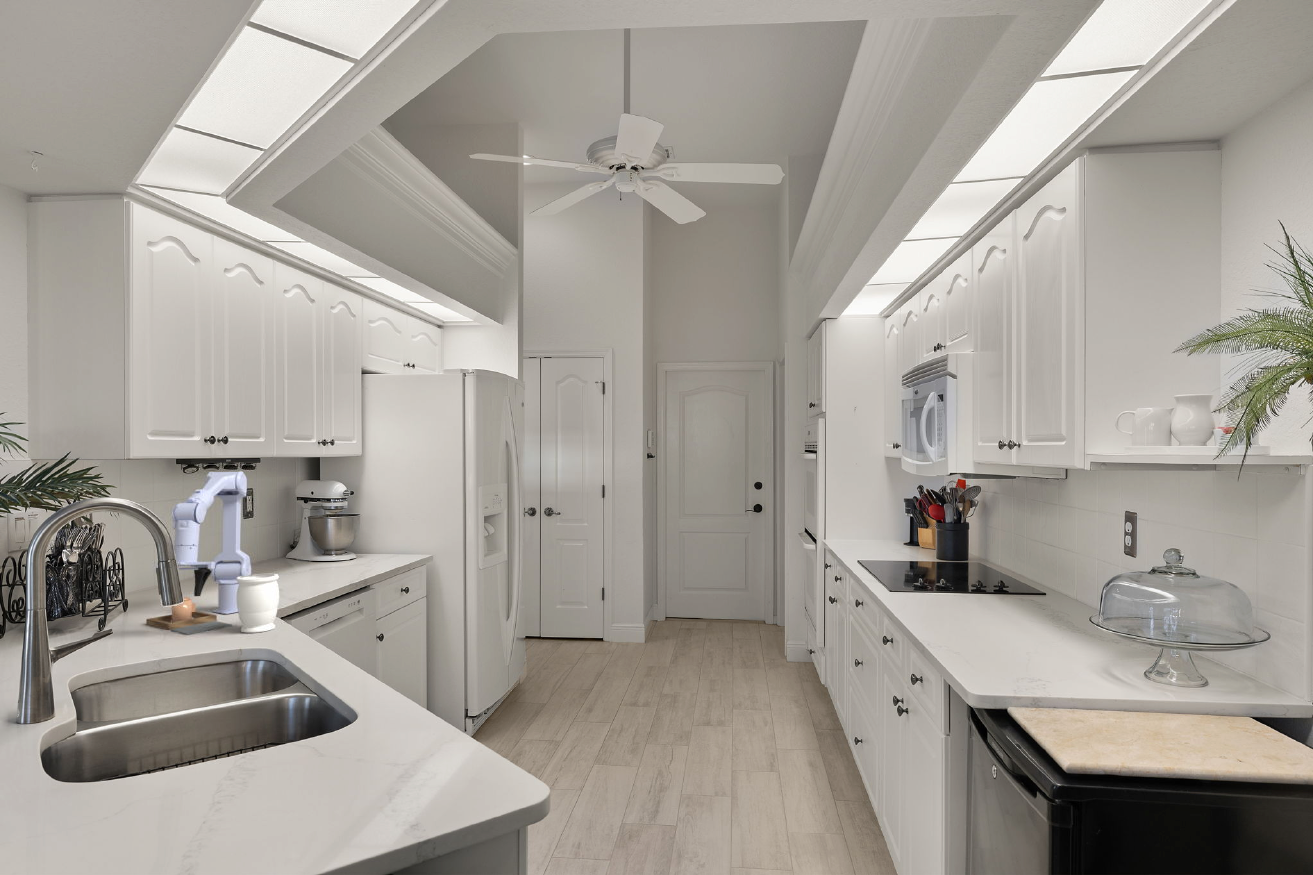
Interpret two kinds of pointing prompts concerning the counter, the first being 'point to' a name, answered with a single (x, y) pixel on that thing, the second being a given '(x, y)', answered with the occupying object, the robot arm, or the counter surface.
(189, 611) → the jug
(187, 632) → the mat
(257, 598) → the jar
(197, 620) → the wooden tray
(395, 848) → the counter surface
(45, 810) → the counter surface
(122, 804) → the counter surface
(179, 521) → the robot arm
